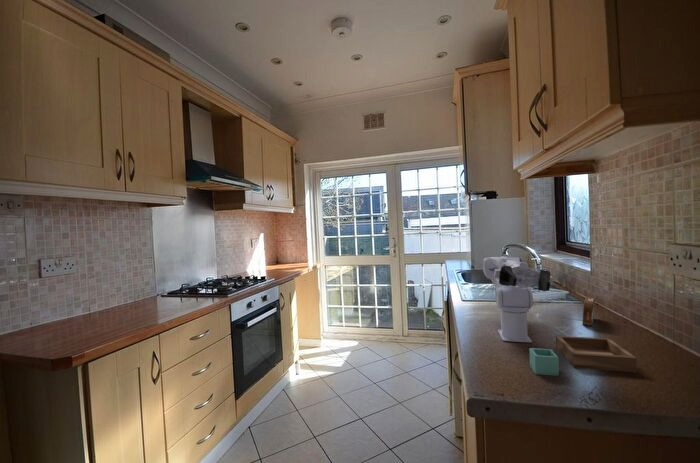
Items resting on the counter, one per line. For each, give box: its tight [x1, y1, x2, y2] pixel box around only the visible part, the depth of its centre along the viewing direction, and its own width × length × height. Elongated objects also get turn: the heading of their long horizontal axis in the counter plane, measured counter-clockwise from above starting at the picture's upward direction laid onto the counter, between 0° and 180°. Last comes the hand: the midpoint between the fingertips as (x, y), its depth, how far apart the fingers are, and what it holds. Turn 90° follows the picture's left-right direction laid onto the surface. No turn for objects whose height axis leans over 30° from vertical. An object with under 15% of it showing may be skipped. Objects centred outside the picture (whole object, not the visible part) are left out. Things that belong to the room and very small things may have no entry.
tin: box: [582, 296, 596, 327], centre depth 114 cm, size 15×3×8 cm, turn 141°
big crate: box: [555, 335, 638, 374], centre depth 85 cm, size 13×13×4 cm
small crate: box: [529, 347, 560, 377], centre depth 80 cm, size 5×5×4 cm
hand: (531, 284), depth 82 cm, fingers open, 7 cm apart
